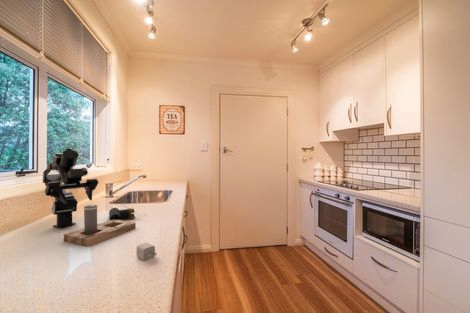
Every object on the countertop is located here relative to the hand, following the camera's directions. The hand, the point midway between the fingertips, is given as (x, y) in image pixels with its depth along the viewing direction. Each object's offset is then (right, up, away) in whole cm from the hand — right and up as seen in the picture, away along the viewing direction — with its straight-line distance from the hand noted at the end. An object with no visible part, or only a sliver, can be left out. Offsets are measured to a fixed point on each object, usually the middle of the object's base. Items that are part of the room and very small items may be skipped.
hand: (79, 201), depth 96 cm
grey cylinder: (+8, -14, -5) cm, 17 cm away
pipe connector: (+8, -14, +21) cm, 26 cm away
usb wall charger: (+38, -14, -23) cm, 46 cm away
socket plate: (+10, -14, 0) cm, 17 cm away
